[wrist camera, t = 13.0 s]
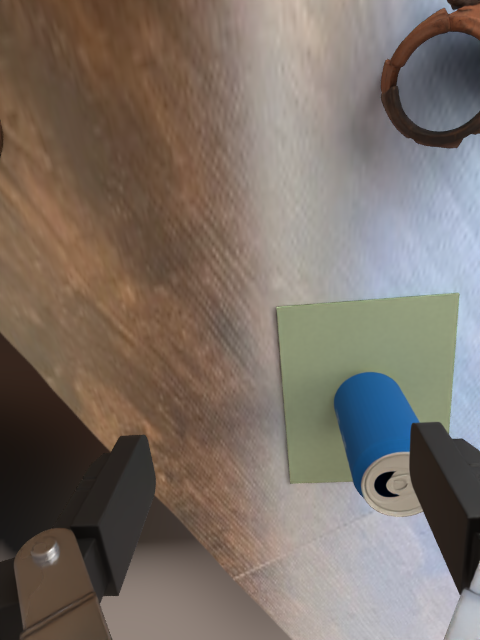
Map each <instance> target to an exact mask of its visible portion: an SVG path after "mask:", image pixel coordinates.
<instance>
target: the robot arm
mask: <svg viewBox="0 0 480 640" xmlns="http://www.w3.org/2000/svg"><path fill="white" fill-rule="evenodd" d="M2 146H3V132H2V125H1V121H0V156H1V152H2ZM409 472H410V479H411V483H412V486H413V489H414V491H415V494H416V496H417V498H418V501H419V503H420V505H421V507H422V510H423V512H424V514H425V517H426V519H427V521H428V523H429V526H430V528H431V530H432V532H433V535H434V537H435V539H436V542H437V544H438V546H439V548H440V551H441V553H442V555H443V558H444V560H445V562H446V564H447V567H448V569H449V571H450V574H451V576H452V578H453V580H454V583H455V585H456V587H457V589H458V592H459V594H460V595H461V596H460V598H459V601H458V604H457V606H456V609H455V611H454V614H453V617H452V619H451V622H450V624H449V627H448V630H447V632H446V635H445V637H444V640H480V451H479V450H478V449H476V448H475V447H473V446H472V445H471V444H469V443H468V442H466V441H465V440H464V439H452V438H451V437H450V435H449V434H448V432H447V431H446V429H445V428H444V426H443V425H442V423H440V422H422V423H412V425H411V431H410V456H409ZM155 487H156V478H155V471H154V467H153V462H152V457H151V453H150V448H149V443H148V439H147V437H146V436H145V435H130V436H120V437H119V439H118V440H117V442H116V444H115V446H114V448H113V449H112V451H111V453H103V454H102V455H101V456H100V457H99V458H98V459H96V460H95V461H94V462H93V463H92V464H91V465H90V466H89V468H88V470H87V471H86V473H85V475H84V476H83V480H81V481H80V483H79V485H78V486H77V488H76V491H74V493H73V495H72V496H71V498H70V499H69V501H68V503H67V504H66V506H65V508H64V509H63V511H62V513H61V514H60V516H59V518H58V519H57V521H56V522H55V524H54V526H53V527H52V529H49V530H46V531H44V532H42V533H39V534H38V535H36V536H34V537H33V538H31V539H30V540H29V541H28V542H26V543H25V545H23V546H22V548H21V549H20V550H19V552H18V553H17V555H16V557H15V558H12V559H9V560H5V561H2V562H0V640H112V637H111V635H110V632H109V629H108V626H107V623H106V620H105V617H104V615H103V612H102V609H101V606H100V602H101V600H102V597H103V596H119V593H120V590H121V587H122V584H123V581H124V579H125V576H126V573H127V570H128V567H129V565H130V562H131V559H132V556H133V553H134V551H135V547H136V545H137V542H138V539H139V537H140V534H141V531H142V528H143V525H144V523H145V520H146V517H147V514H148V511H149V508H150V506H151V503H152V500H153V497H154V494H155Z"/></svg>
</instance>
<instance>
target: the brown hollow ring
mask: <svg viewBox="0 0 480 640" xmlns="http://www.w3.org/2000/svg"><path fill="white" fill-rule="evenodd" d="M447 2H448V3H449V4H450V5H451V7H452V9H453V10H455V9H457V11H455V12H453V13H451V14H448V13H447V11H446V9H445V8H443V9H441V10H439V11H437V12H436V13H434V14H433V15H431V16H430V17H428V18H427V19H426V20H425V21H423V22H422V23H420V24H419V25H418V26H417V27H416V28H415V29H414V30H413V31H412V32H411V33H410V34H409V35H408V36H407V37H406V38H405V39H404V40H403V41H402V42H401V44H400V45H399V46H398V48H397V49H396V51H395V53H394V54H393V56H392V58H391V60H389V59H387V60H386V61H385V63H384V67H383V72H382V77H381V91H382V94H381V101H382V104H383V106H384V108H385V111H386V113H387V115H388V117H389V119H390V120H391V122H392V124H393V125H394V126H395V127H396V129H397V130H398V131H399V132H400V133H401V134H403V135H404V136H405V137H406V138H411V139H413V140H414V141H415V142H416V143H418V144H421V145H424V146H431V147H441V148H458V146H459V145H460V143H461V142H462V140H463V138H465V137H467V136H469V135H470V134H474V135H476V134H480V111H479V112H478V113H477V114H476V115H475V116H474V117H473V118H472V119H471V120H470V121H468V122H467V123H465V124H464V125H462V126H460V127H459V128H456V129H453V130H448V131H441V132H437V131H429V130H426V129H423V128H421V127H419V126H417V125H415V124H414V123H413V122H412V121H411V120H410V119H409V118H408V116H407V115H406V114H405V112H404V110H403V108H402V105H401V102H400V98H399V90H398V86H396V84H397V78H398V74H399V71H400V69H401V67H403V66H404V65H405V64H406V62H407V60H408V59H409V57H410V56H411V55H412V53H413V52H414V51H415V50H416V49H417V48H418V47H419V46H420V45H421V44H422V43H424V42H425V41H427V40H428V39H430V38H432V37H434V36H436V35H439V34H444V33H447V32H462V33H466V34H469V35H472V36H474V37H475V38H477V39H478V40H479V41H480V0H447Z"/></svg>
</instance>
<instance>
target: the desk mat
mask: <svg viewBox="0 0 480 640" xmlns="http://www.w3.org/2000/svg"><path fill="white" fill-rule="evenodd" d="M458 306H459V293H450V294H437V295H424V296H411V297H398V298H385V299H372V300H359V301H346V302H333V303H320V304H307V305H294V306H281V307H276V309H277V322H278V334H279V347H280V360H281V372H282V385H283V398H284V410H285V423H286V435H287V448H288V461H289V473H290V484H294V483H323V482H353V479H352V475H351V471H350V468H349V464H348V460H347V456H346V452H345V448H344V444H343V440H342V436H341V433H340V429H339V425H338V421H337V417H336V413H335V409H334V397H335V394H336V392H337V390H338V388H339V387H340V385H341V384H342V383H343V382H344V381H345V380H347V379H348V378H350V377H352V376H354V375H356V374H359V373H363V372H377V373H382V374H384V375H387V376H389V377H390V378H392V379H393V380H394V381H395V382H396V383H397V384H398V385H399V387H400V389H401V390H402V392H403V394H404V396H405V397H406V399H407V401H408V403H409V404H410V406H411V408H412V410H413V411H414V413H415V415H416V416H417V418H418V420H419V422H420V423H422V422H440V423H442V425H443V426H444V428H445V429H446V431H447V432H448V434H449V424H450V411H451V398H452V385H453V371H454V358H455V345H456V332H457V319H458Z"/></svg>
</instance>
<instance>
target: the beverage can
mask: <svg viewBox="0 0 480 640" xmlns="http://www.w3.org/2000/svg"><path fill="white" fill-rule="evenodd" d="M334 409H335V413H336V417H337V421H338V425H339V429H340V433H341V436H342V440H343V444H344V448H345V452H346V456H347V460H348V464H349V468H350V471H351V475H352V479H353V483H354V485H355V488H356V489H357V491H358V492H359V494H360V495H361V496H362V497H363V498H364V499H365V500H366V502H367V503H368V504H369V506H370V507H372V508H373V509H374V510H376V511H377V512H380V513H382V514H385V515H388V516H394V517H406V516H412V515H415V514H418V513H421V512H423V510H422V507H421V505H420V503H419V501H418V498H417V496H416V494H415V491H414V489H413V486H412V483H411V479H410V472H409V456H410V431H411V425H412V423H420V422H419V420H418V418H417V416H416V415H415V413H414V411H413V410H412V408H411V406H410V404H409V403H408V401H407V399H406V397H405V396H404V394H403V392H402V390H401V389H400V387H399V385H398V384H397V383H396V382H395V381H394V380H393V379H392V378H390V377H389V376H387V375H384V374H382V373H377V372H363V373H359V374H356V375H354V376H352V377H350V378H348V379H347V380H345V381H344V382H343V383H342V384H341V385H340V387H339V388H338V390H337V392H336V394H335V397H334Z"/></svg>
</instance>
